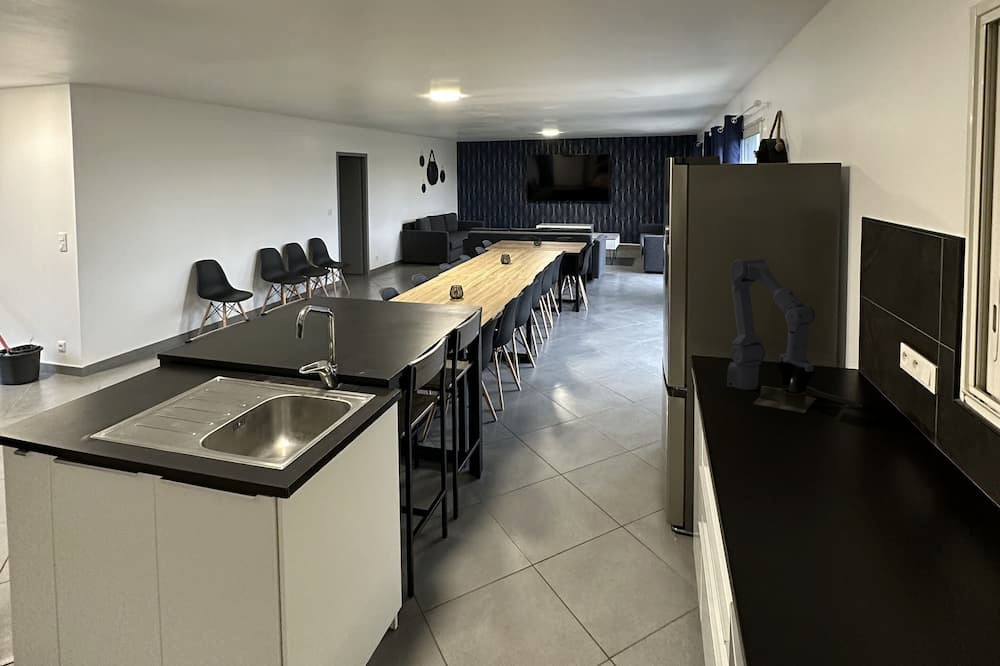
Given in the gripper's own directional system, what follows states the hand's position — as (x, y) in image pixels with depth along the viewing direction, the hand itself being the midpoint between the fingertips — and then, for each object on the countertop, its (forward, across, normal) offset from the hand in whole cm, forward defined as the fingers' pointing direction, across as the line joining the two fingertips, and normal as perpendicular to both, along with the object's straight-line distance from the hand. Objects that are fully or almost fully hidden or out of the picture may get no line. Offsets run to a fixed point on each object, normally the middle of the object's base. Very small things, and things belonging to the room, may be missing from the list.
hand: (793, 388), depth 200 cm
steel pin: (+5, 0, 0) cm, 5 cm away
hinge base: (+6, -3, -1) cm, 7 cm away
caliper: (+6, 0, +11) cm, 12 cm away
